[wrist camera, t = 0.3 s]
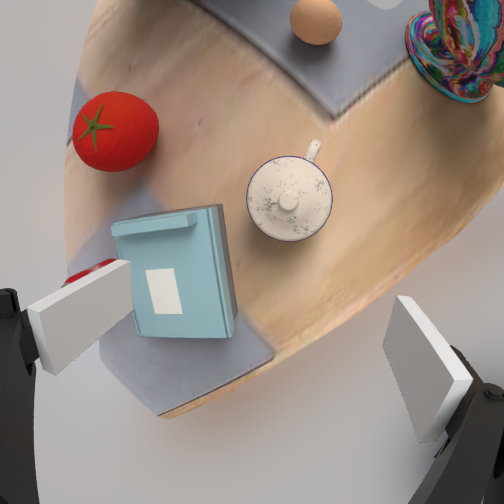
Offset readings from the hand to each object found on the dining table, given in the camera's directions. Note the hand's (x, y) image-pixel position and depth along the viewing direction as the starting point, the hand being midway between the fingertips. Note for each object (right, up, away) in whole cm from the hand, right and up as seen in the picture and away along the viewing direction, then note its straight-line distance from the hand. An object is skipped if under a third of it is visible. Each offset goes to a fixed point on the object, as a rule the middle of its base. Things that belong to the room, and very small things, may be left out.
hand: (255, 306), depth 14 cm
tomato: (-17, +20, +27) cm, 37 cm away
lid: (-10, 0, +24) cm, 26 cm away
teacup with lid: (+6, +11, +25) cm, 28 cm away
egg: (+9, +33, +19) cm, 39 cm away
